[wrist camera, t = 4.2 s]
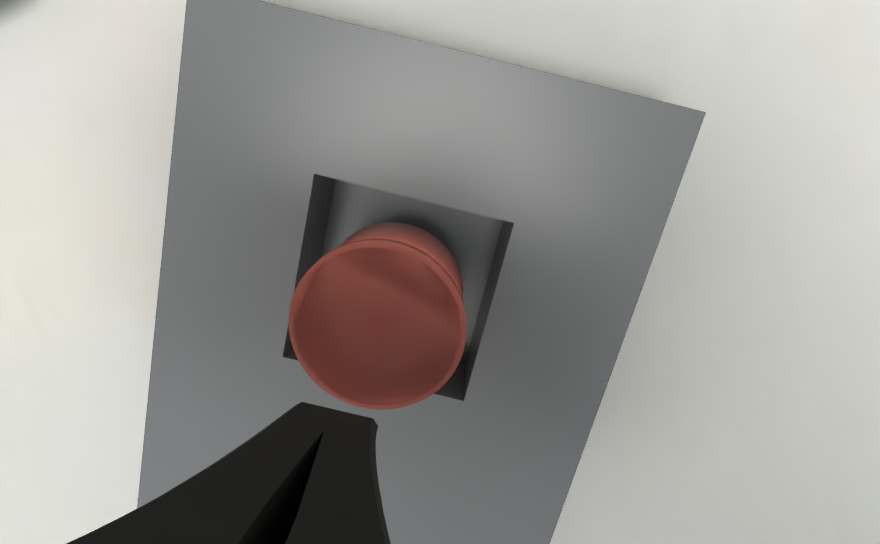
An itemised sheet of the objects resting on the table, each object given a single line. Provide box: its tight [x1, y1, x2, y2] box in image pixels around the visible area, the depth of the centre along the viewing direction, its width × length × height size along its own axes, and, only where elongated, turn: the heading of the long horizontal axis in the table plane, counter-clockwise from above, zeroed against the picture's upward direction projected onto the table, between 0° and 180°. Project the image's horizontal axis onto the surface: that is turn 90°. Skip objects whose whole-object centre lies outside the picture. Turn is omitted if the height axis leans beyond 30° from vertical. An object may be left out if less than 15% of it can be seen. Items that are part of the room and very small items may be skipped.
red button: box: [288, 222, 466, 410], centre depth 13 cm, size 4×4×3 cm
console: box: [137, 0, 706, 544], centre depth 17 cm, size 24×12×3 cm, turn 167°
